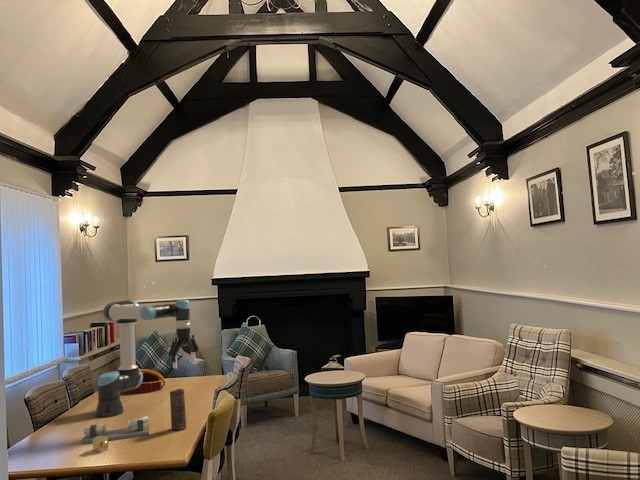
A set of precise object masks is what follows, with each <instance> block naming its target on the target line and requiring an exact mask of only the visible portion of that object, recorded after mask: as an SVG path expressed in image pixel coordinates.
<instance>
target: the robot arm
mask: <svg viewBox="0 0 640 480" xmlns="http://www.w3.org/2000/svg"><path fill="white" fill-rule="evenodd" d="M190 313H191V312H190V300H188V299H178V300H175V303H163V304H157V305H140V304H139V303H138V301H136V300H128V299H127V300H120V301H119V300H118V301H111V302H109V303H107V304H106V305H105V306H104V307H103V309H102V316H103V318H104V319H105V320H107V321H109V322H116V324H117V325H118V326H119V349H120V350H119V353H120V354H119V357H120V365H119V367H118V368H117V370H112V371H107V372H104V373H102V374H100V375H99V376H98V377H97V395H98V396H97V399H98V401H97V406H96V407H95V411H94V412H95V415H94V416H95V417H96V416H97V418H109V417H115V416H119V415H121V414H123V413H124V406H123V403H122V401H121V399H120V397H121V396H120V395H121V394H120V393H121V392H124V391H128V390H133V389H135V388H138V387H139V386H140V385H141V383H142V380H143V374H142V373H143V372H142V371H141V370H140V369H141V368H139V366H138V365H137V364H136V334H135V333H136V332H135V331H136V330H135V328H136V327H135V325H136V324H137V323H138V320H143V321H151V320H156V319H157V320H158V319H165V318H175V327H176V329H175V330H176V332H175V333H176V337H173V338H172V342H171V346H170V349H169V351H168V357H169V356H170V357H171V362H172V368H173V369H178V356H177V354H178V352H179V351H180V348H181V347H182V346H184V345H187V347H188V348H189V350H191V352H190V363H191V364H192V365H195V364H197V363H196V361H197V360H196V359H197V352H198V351H199V346H198V344H197V342H196V339H195V335H194V334H191V328H190V327H191V319H190V315H191V314H190Z"/></svg>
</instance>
